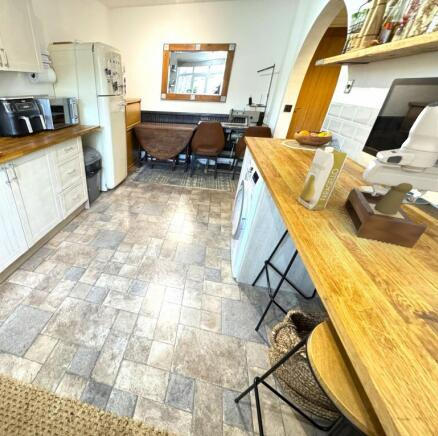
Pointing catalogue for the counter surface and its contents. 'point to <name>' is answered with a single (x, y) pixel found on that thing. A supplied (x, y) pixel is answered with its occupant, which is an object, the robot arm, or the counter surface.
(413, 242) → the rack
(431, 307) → the counter surface
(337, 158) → the juice carton
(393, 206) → the pepper mill
